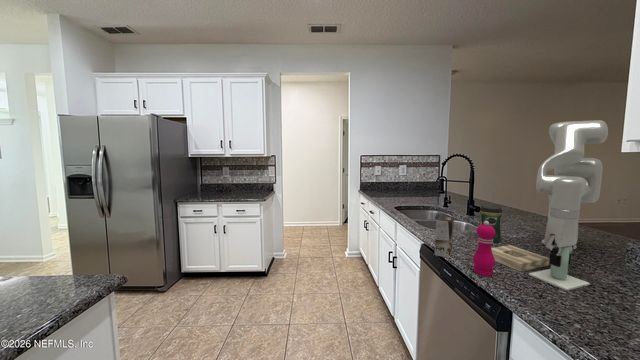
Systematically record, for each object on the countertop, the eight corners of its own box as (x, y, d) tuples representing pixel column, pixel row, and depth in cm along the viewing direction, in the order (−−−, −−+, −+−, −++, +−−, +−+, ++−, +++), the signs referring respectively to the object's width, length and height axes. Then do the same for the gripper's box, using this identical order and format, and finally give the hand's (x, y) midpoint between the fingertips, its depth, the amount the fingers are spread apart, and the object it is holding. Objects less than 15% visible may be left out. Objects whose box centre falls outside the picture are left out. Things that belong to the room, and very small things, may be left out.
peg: (555, 271, 98) (558, 242, 97) (570, 277, 94) (573, 247, 93) (547, 273, 97) (549, 244, 96) (561, 279, 93) (564, 248, 91)
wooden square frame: (509, 251, 122) (509, 245, 122) (548, 265, 107) (549, 258, 107) (482, 255, 117) (483, 249, 117) (520, 271, 102) (520, 263, 102)
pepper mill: (468, 268, 105) (470, 218, 103) (485, 267, 105) (488, 218, 103) (480, 277, 98) (483, 223, 96) (499, 276, 98) (503, 223, 96)
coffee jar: (500, 239, 139) (502, 204, 137) (501, 243, 132) (503, 206, 130) (478, 236, 144) (480, 202, 142) (478, 240, 138) (480, 204, 135)
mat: (550, 270, 103) (550, 268, 103) (589, 284, 92) (590, 283, 92) (528, 274, 99) (528, 273, 99) (566, 290, 88) (567, 289, 88)
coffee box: (450, 258, 115) (452, 221, 113) (434, 255, 118) (435, 219, 117) (452, 251, 123) (454, 217, 121) (437, 248, 126) (438, 215, 124)
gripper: (567, 209, 99) (562, 257, 101) (535, 213, 94) (531, 263, 96) (593, 214, 92) (587, 265, 94) (560, 218, 87) (555, 272, 89)
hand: (559, 263), depth 95 cm, fingers closed on peg, 4 cm apart
